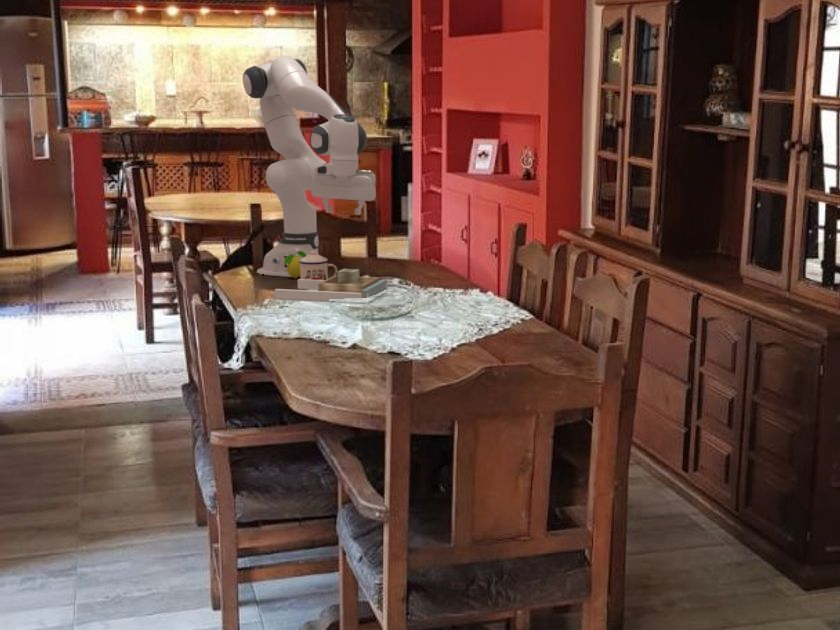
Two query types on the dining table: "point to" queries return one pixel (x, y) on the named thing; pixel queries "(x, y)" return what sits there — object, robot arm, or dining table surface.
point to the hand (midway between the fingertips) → (343, 213)
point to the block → (348, 276)
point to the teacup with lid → (315, 267)
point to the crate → (346, 285)
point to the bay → (326, 292)
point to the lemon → (294, 264)
